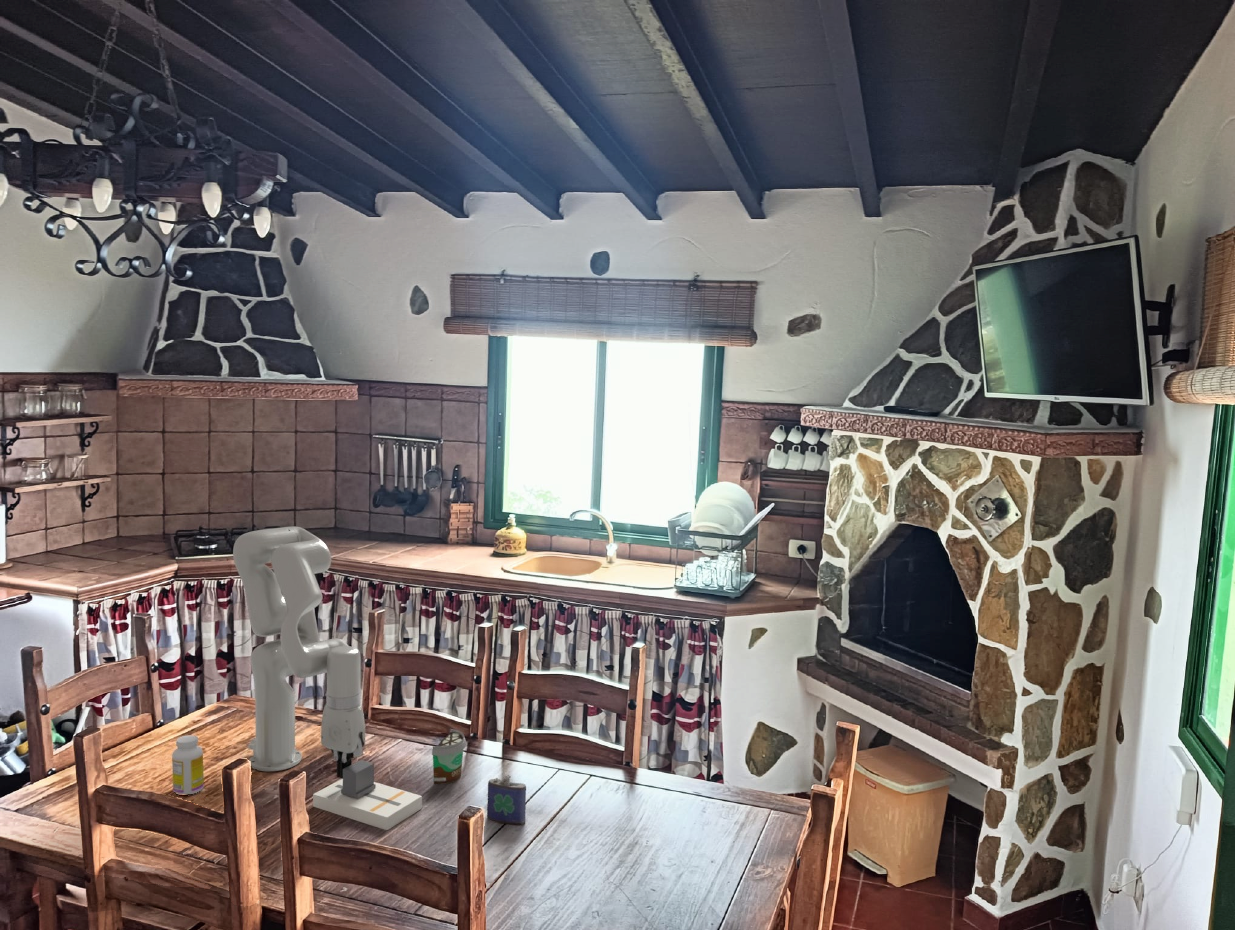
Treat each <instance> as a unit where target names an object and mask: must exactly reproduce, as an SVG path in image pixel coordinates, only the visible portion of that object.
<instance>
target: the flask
mask: <svg viewBox="0 0 1235 930" xmlns="http://www.w3.org/2000/svg"><path fill="white" fill-rule="evenodd" d="M510 779H511V775H510V774H507V775H504V776H503V777H502V779H500V778H498V777H496V778H491V779H489V780H488V782H487V803H486V804H487V805H486V806H487V807H486V817H487V818H486V820H488V821H490V822H494V823H498V824H506V825H512V826H523V825H525V823H526V808H527V807H526V804H527V803H526V801H527V800H526V799H527V797H526V795H527V793H526V792H527V785H526V784H525V783H521V782H510Z"/></svg>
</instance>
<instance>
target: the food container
mask: <svg viewBox="0 0 1235 930" xmlns="http://www.w3.org/2000/svg"><path fill="white" fill-rule="evenodd" d="M466 747H467V741H466V738H465V735H464V733H463V732H461V731H460V730H457V729H452V728H449V733H448V735H446V736H445V737H443V738H441V739H440V742H439V743H438V744H437V745H435V746H434V745H433V746H432V749H431V755H432V767H433V768H432V770H433V773H432V774H433V784H434V785H446V784H451V783H453V782H456V781H458V780H459V779H461V777H462V770H463V769H462V768H463V766H462V765H463V757H464V750H465V748H466Z"/></svg>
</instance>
